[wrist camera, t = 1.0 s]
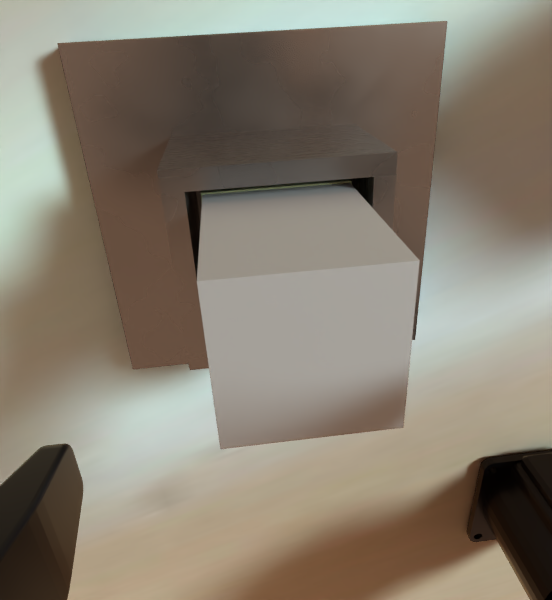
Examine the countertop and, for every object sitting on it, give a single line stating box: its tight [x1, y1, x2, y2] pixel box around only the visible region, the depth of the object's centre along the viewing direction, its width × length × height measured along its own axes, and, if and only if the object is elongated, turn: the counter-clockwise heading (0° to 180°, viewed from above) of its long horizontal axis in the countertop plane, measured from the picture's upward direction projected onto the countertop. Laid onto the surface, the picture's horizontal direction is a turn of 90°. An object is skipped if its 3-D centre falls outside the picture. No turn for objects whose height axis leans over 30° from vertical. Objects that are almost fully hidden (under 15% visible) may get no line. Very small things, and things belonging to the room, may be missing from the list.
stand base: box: [57, 21, 447, 370], centre depth 16 cm, size 12×12×6 cm
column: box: [197, 179, 420, 449], centre depth 14 cm, size 4×4×9 cm
